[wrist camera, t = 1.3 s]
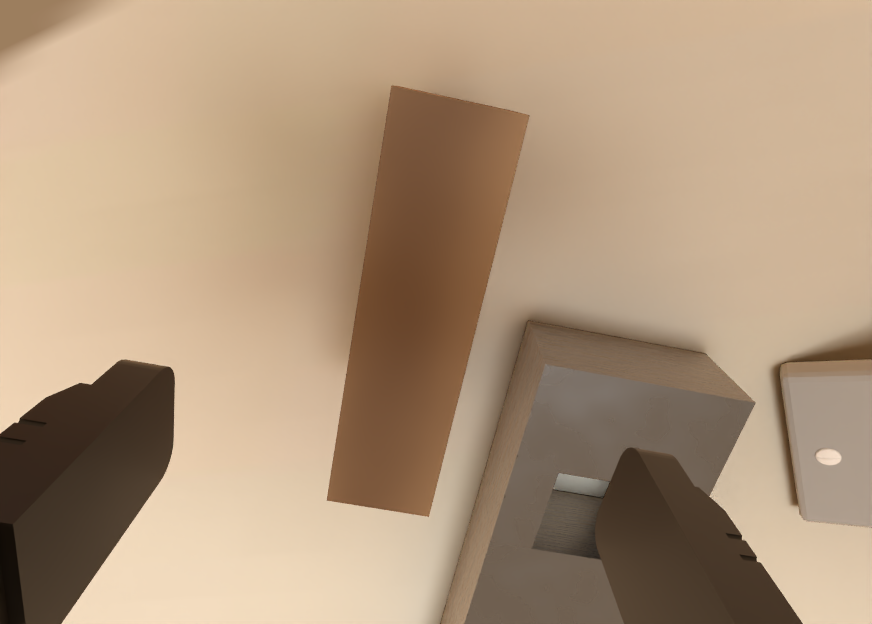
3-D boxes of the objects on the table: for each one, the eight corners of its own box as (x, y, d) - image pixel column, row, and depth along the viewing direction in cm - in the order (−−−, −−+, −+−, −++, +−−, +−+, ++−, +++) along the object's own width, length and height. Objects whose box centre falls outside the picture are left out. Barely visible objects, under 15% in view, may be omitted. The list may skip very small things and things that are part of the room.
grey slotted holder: (705, 353, 24) (755, 402, 20) (562, 681, 32) (578, 759, 28) (528, 320, 23) (545, 364, 19) (428, 663, 31) (427, 740, 27)
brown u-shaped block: (495, 106, 20) (529, 115, 12) (431, 386, 24) (428, 516, 17) (409, 87, 20) (391, 85, 12) (360, 373, 24) (326, 500, 17)
